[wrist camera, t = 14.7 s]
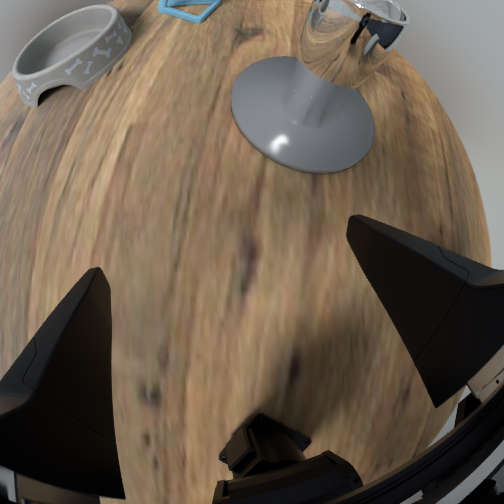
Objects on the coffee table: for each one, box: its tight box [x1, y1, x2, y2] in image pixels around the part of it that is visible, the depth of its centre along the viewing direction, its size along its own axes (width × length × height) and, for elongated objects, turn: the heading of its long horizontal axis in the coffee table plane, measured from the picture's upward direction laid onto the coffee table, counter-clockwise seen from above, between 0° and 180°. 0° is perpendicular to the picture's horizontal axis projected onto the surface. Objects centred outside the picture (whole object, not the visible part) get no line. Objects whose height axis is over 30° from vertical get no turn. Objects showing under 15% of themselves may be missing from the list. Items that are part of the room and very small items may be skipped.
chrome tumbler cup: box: [280, 0, 410, 129], centre depth 18 cm, size 7×7×15 cm
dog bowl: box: [13, 5, 132, 107], centre depth 21 cm, size 17×18×5 cm
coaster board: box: [231, 56, 374, 174], centre depth 26 cm, size 16×16×1 cm
